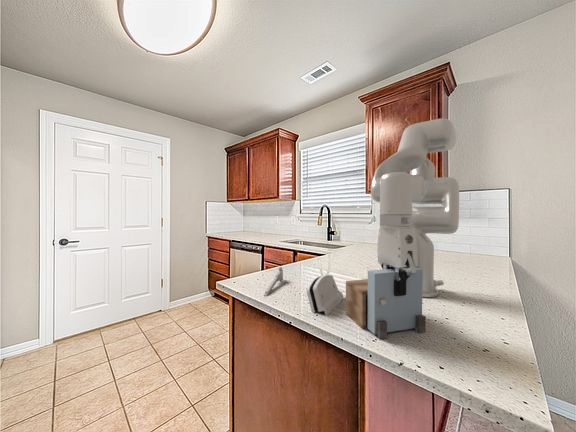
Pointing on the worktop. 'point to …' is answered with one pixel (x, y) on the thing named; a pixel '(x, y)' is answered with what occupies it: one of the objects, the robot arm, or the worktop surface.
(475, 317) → the worktop surface
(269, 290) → the caliper
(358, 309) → the cabinet
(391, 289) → the door
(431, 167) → the robot arm
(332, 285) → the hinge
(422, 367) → the worktop surface
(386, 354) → the worktop surface
